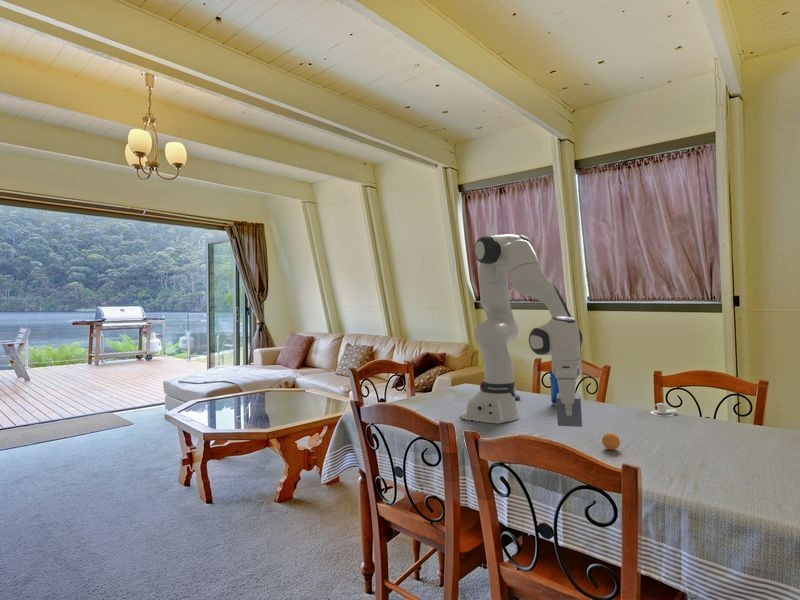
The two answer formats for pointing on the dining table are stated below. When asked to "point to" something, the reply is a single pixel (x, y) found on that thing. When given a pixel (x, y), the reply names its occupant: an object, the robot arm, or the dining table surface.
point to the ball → (611, 441)
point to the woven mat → (517, 397)
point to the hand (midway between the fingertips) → (569, 411)
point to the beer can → (554, 388)
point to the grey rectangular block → (576, 412)
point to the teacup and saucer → (663, 410)
